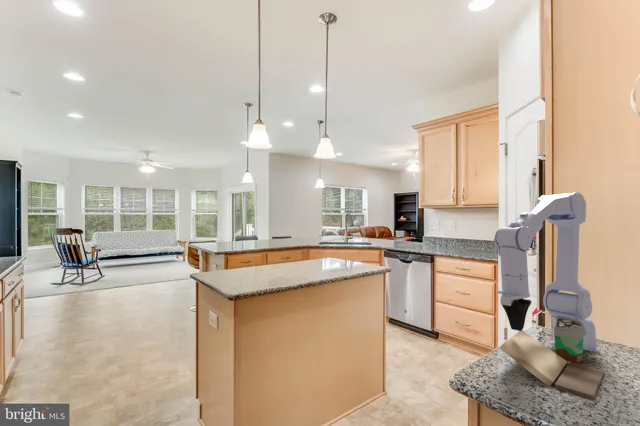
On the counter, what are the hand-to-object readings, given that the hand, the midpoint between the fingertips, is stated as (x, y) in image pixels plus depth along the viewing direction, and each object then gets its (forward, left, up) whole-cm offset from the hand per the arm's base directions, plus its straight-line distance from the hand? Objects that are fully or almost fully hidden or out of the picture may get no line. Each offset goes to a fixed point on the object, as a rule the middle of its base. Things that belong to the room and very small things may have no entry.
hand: (517, 329), depth 77 cm
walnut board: (-7, +10, -9) cm, 15 cm away
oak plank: (-2, +2, -6) cm, 7 cm away
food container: (-15, 0, -10) cm, 18 cm away
